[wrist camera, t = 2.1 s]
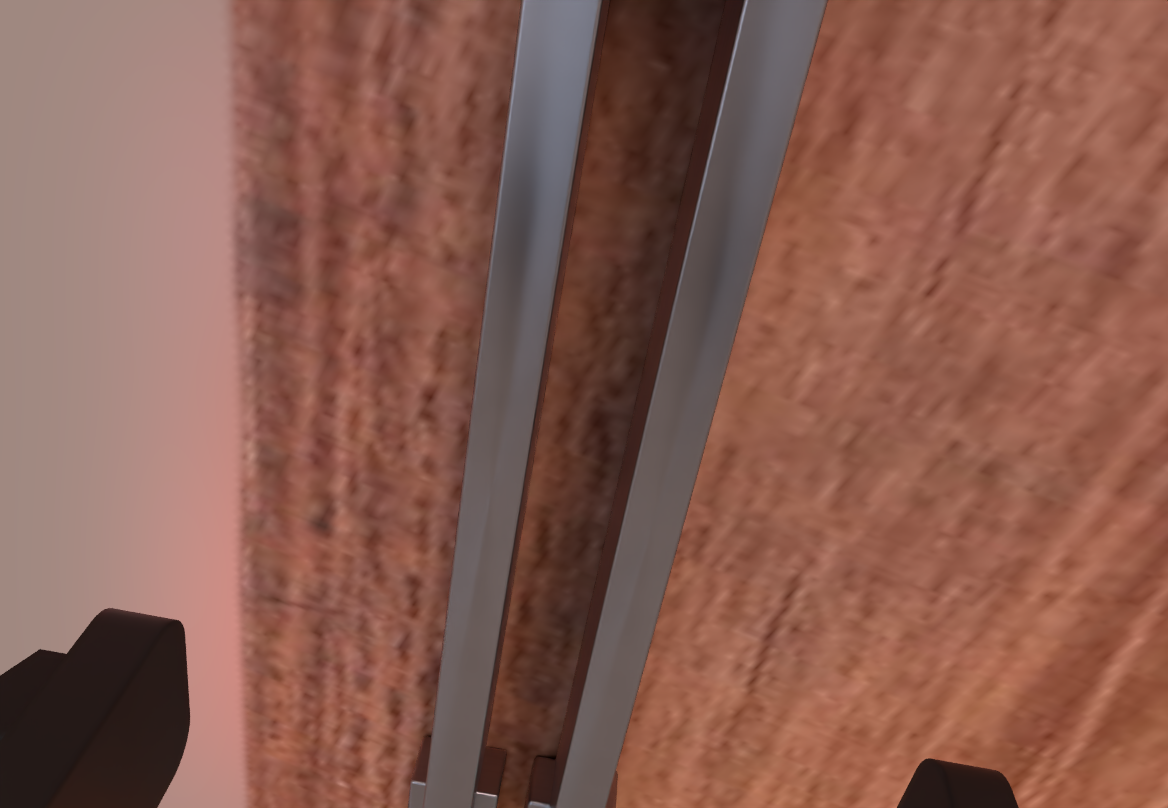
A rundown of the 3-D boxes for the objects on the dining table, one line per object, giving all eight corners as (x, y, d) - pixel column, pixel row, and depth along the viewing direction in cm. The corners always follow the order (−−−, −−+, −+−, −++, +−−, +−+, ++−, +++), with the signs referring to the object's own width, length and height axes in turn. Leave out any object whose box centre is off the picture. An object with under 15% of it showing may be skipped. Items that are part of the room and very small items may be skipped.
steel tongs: (548, -352, 11) (520, -398, 9) (909, -281, 11) (963, -312, 9) (416, 794, 21) (389, 896, 19) (602, 827, 21) (594, 932, 19)
